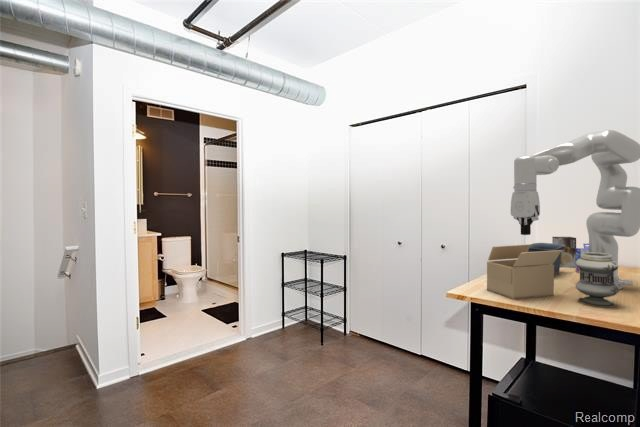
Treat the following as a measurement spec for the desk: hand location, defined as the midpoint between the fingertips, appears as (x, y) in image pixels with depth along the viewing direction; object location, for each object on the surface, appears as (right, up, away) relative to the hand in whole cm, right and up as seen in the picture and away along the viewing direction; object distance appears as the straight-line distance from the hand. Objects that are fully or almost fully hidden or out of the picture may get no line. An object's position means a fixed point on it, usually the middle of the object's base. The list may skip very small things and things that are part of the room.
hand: (525, 234), depth 134 cm
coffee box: (+53, -21, +52) cm, 77 cm away
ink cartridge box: (+53, -22, +36) cm, 68 cm away
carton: (-1, -24, +3) cm, 24 cm away
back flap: (-2, -8, +8) cm, 11 cm away
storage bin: (+29, -22, +35) cm, 51 cm away
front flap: (+1, -9, -5) cm, 10 cm away
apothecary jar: (+18, -24, -12) cm, 33 cm away
